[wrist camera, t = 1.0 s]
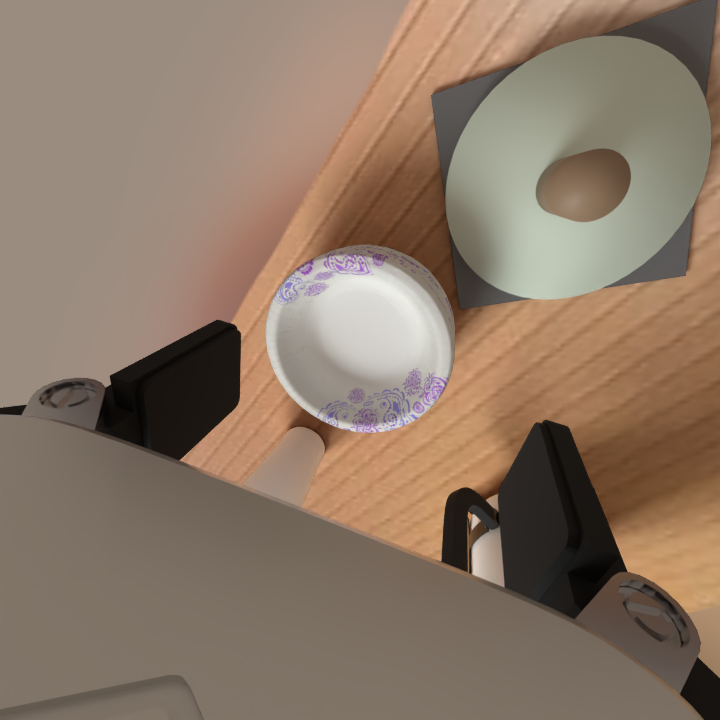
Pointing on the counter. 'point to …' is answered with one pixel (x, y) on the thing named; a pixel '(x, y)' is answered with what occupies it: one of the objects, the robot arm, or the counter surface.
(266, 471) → the drinking glass
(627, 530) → the counter surface
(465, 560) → the coffee press
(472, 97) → the mat
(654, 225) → the lid
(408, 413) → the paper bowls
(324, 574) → the robot arm
